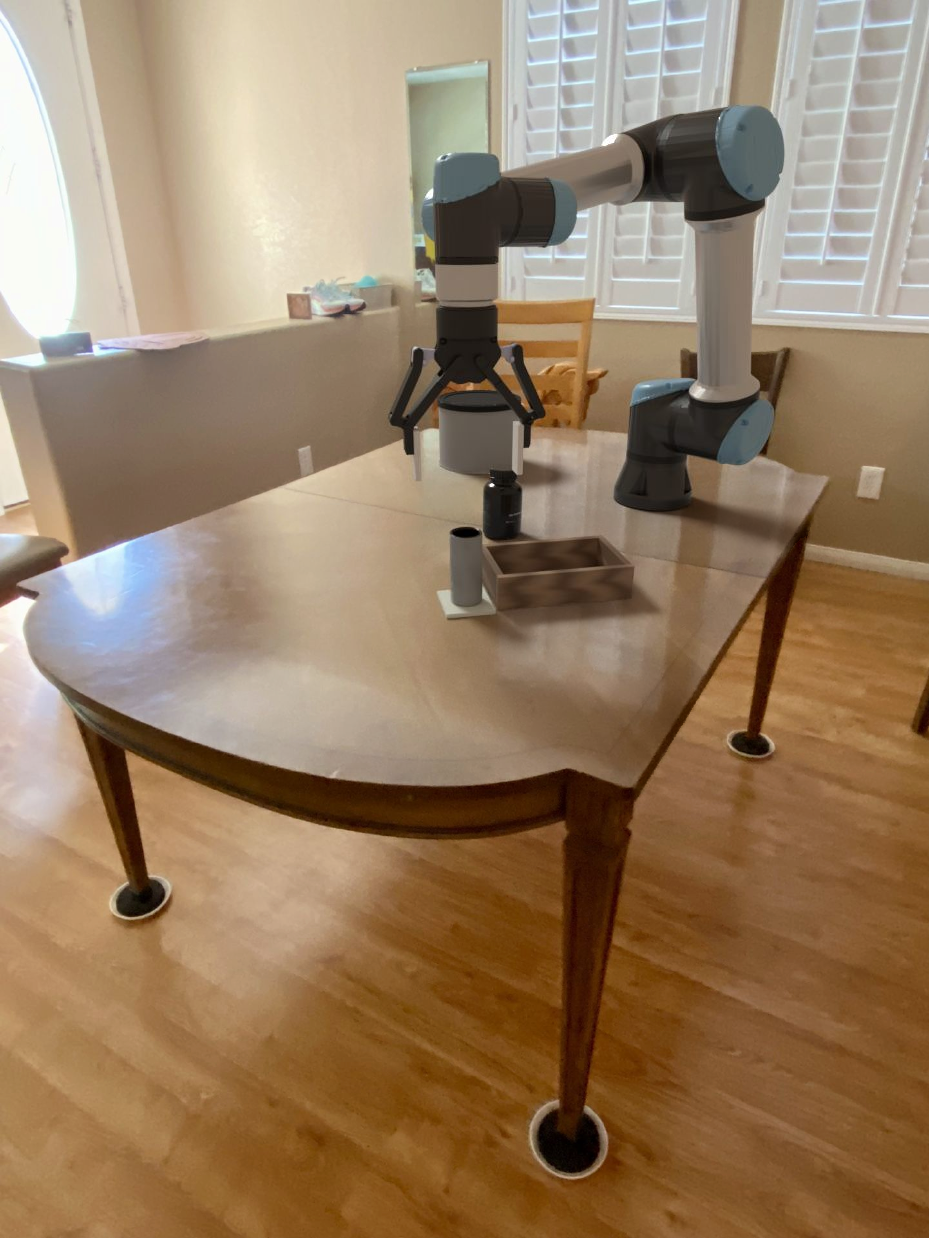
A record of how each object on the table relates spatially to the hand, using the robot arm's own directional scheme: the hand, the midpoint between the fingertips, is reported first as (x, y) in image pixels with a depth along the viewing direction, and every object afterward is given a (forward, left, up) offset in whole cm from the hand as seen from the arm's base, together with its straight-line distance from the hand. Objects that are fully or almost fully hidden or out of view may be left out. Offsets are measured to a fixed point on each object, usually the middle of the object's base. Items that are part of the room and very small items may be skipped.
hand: (467, 475), depth 102 cm
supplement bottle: (-12, -26, -19) cm, 35 cm away
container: (-18, -74, -19) cm, 78 cm away
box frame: (-14, -3, -19) cm, 23 cm away
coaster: (0, +1, -19) cm, 19 cm away
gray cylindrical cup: (0, 0, -18) cm, 18 cm away
